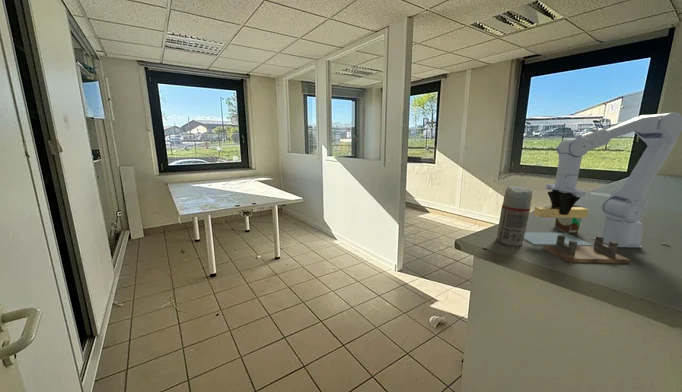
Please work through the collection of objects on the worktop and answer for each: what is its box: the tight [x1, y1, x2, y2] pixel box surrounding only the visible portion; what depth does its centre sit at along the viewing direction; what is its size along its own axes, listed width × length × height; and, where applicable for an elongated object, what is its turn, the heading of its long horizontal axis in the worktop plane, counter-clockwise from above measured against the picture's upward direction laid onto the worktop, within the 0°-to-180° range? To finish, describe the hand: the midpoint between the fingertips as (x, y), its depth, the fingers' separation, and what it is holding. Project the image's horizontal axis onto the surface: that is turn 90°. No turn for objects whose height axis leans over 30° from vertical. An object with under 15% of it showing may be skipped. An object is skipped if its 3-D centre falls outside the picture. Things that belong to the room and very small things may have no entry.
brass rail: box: [533, 206, 589, 219], centre depth 93 cm, size 16×3×3 cm, turn 89°
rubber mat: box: [523, 231, 594, 246], centre depth 98 cm, size 20×12×1 cm, turn 89°
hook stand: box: [542, 235, 631, 264], centre depth 83 cm, size 18×10×6 cm, turn 89°
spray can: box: [495, 185, 533, 247], centre depth 92 cm, size 8×8×20 cm
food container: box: [554, 204, 585, 235], centre depth 106 cm, size 12×6×10 cm, turn 168°
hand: (559, 213), depth 93 cm, fingers closed on brass rail, 3 cm apart
